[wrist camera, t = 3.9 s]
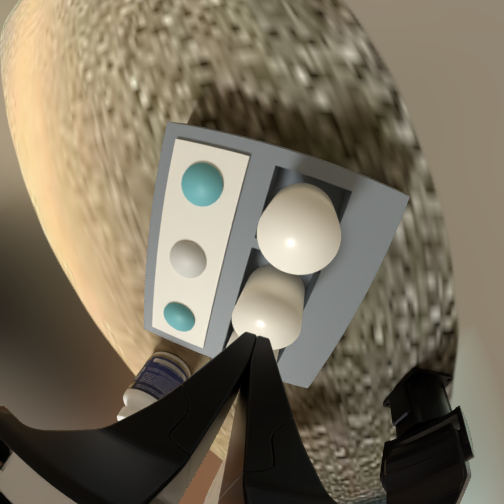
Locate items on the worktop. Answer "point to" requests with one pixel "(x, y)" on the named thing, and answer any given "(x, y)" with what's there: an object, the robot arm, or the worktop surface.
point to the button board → (254, 241)
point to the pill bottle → (154, 382)
